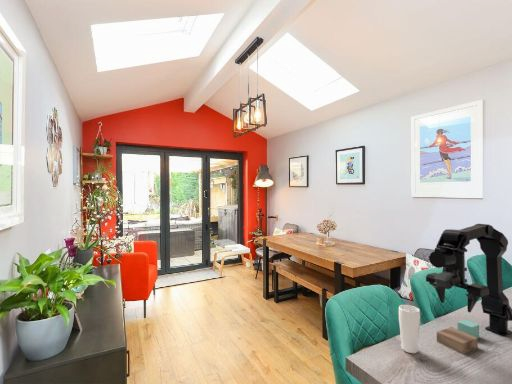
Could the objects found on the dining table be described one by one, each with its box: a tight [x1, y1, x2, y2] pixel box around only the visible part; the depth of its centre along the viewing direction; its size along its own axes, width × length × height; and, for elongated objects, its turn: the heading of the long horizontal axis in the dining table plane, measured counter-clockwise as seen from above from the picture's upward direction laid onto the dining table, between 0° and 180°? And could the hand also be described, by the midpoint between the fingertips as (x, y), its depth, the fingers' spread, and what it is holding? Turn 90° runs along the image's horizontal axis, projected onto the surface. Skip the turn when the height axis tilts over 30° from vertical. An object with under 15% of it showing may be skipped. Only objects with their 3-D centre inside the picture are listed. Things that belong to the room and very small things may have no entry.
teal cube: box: [457, 319, 480, 338], centre depth 109 cm, size 5×5×5 cm
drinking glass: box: [398, 304, 421, 354], centre depth 99 cm, size 7×7×15 cm
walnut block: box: [436, 326, 479, 355], centre depth 102 cm, size 9×9×4 cm
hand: (455, 307), depth 101 cm, fingers open, 9 cm apart
